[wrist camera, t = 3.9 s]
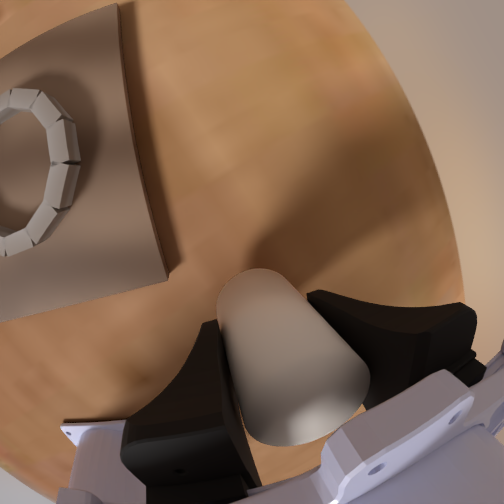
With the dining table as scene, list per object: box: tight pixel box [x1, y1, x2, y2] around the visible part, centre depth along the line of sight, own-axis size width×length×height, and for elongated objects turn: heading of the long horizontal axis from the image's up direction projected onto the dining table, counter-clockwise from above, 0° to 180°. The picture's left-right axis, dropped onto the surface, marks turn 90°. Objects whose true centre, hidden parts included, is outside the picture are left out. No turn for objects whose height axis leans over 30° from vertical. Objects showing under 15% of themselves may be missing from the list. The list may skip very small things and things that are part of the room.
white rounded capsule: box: [216, 268, 370, 446], centre depth 10 cm, size 4×4×7 cm
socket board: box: [0, 3, 169, 322], centre depth 10 cm, size 16×14×2 cm
